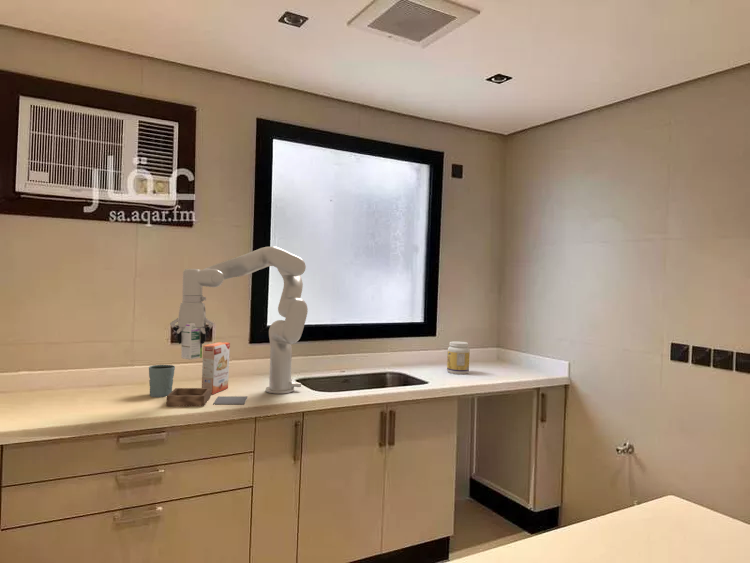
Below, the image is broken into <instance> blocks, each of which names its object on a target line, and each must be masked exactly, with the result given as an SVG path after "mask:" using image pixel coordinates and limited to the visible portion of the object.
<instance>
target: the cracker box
mask: <svg viewBox="0 0 750 563" xmlns="http://www.w3.org/2000/svg"><path fill="white" fill-rule="evenodd" d="M230 351H231V343H230V342H223V341H217V342H214V343H209V344H205V345H202V369H201V388H211V394H210V395H215V394H216V393H219V392H222V391H224V390H226V389H228V388H229V373H230V372H229V370H230Z"/></svg>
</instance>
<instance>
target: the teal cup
mask: <svg viewBox="0 0 750 563" xmlns="http://www.w3.org/2000/svg"><path fill="white" fill-rule="evenodd" d="M175 367H176V366H175V365H172V364H156V365H155V364H154V365H150V366H149V367H148V377H149V380H148V381H149V396H150V397H151V398H167V397H166V396H168V395H169V394H170V393H171V392H172V391H173V384H174V376H175V369H176V368H175Z"/></svg>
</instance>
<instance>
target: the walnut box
mask: <svg viewBox="0 0 750 563" xmlns="http://www.w3.org/2000/svg"><path fill="white" fill-rule="evenodd" d="M211 395H212V394H211V388H202V387H189V388H188V387H183V388H182V387H176V388H174V389H172V392H171V393H170V394H169V395H168V396H167V397H166V406H169V407H205V406H206V404H207V403H208V402H207V401H209V400H211ZM204 405H205V406H204Z"/></svg>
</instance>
